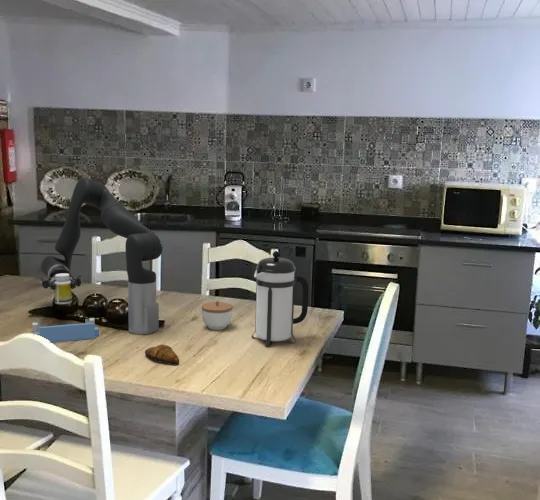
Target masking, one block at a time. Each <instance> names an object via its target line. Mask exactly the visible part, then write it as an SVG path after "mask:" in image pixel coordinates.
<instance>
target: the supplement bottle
mask: <svg viewBox="0 0 540 500" xmlns="http://www.w3.org/2000/svg"><path fill="white" fill-rule="evenodd" d="M69 279H70V276H69V274H67V273H61V274H56V275H55V280H56V281H55V282H54V283H55V290H54V303H55V304H56V305H68V304H71V303H72V302H73V295H72V294H73V293H72V292H73V291H72V288H71V281H70V280H69Z"/></svg>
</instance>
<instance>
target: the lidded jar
mask: <svg viewBox="0 0 540 500" xmlns="http://www.w3.org/2000/svg"><path fill="white" fill-rule="evenodd" d="M233 308H234V307H233V304H231V303H228V302H224V301H223V302H222V301H219V300H215V301H212V302H211V301H209V302H206V303H203V304H202V305H201V315H202V320H203V321H202V322H204V324H205V326H207V328H208V329H210V330H215V331H216V330H217V331H221V330H224V329H226V327H228V325H229V324H230V323H231V321H232V317H233Z"/></svg>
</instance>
